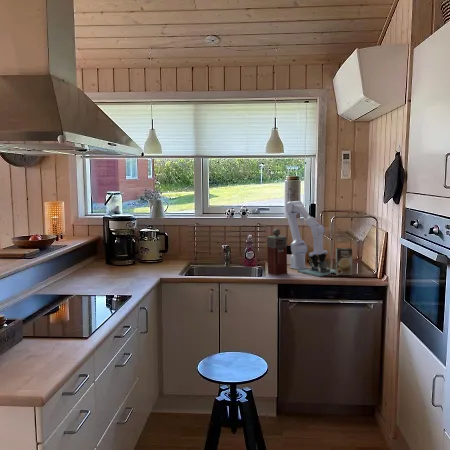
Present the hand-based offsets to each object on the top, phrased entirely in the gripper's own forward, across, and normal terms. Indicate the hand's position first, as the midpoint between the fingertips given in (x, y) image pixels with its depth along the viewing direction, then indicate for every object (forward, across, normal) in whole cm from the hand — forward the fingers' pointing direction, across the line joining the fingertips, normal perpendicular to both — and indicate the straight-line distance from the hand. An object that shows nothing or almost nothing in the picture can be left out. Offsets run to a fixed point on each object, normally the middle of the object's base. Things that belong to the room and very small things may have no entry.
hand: (318, 266), depth 280 cm
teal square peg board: (+4, 0, 0) cm, 4 cm away
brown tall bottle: (+4, -20, +14) cm, 25 cm away
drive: (+3, 0, 0) cm, 3 cm away
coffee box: (+4, +6, -15) cm, 17 cm away
